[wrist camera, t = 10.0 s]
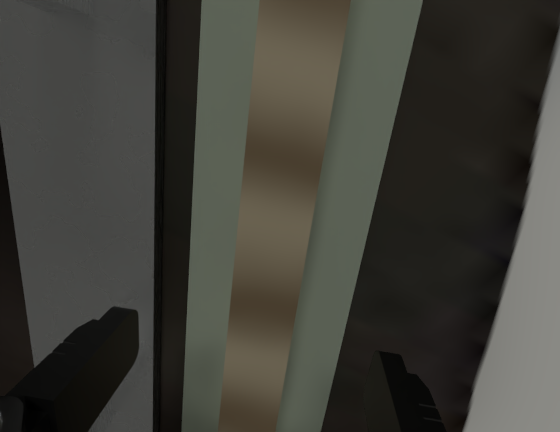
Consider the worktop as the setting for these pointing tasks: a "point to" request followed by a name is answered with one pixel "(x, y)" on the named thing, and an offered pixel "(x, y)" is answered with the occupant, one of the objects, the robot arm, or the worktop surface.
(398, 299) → the worktop surface
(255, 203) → the rail
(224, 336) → the mat
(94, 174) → the hook stand
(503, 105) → the worktop surface
